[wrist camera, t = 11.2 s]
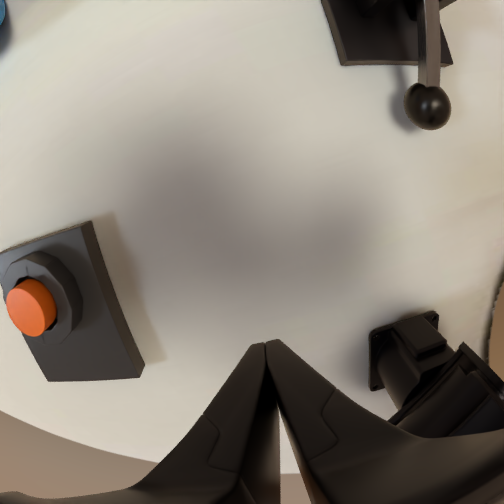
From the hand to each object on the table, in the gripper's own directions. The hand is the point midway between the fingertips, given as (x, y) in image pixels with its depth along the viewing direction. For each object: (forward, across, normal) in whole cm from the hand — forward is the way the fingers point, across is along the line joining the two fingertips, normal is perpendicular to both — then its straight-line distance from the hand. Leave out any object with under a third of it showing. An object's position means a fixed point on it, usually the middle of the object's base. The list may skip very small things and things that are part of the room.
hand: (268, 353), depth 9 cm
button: (+9, +15, -1) cm, 18 cm away
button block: (+12, +16, +1) cm, 19 cm away
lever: (+9, -13, -12) cm, 20 cm away
